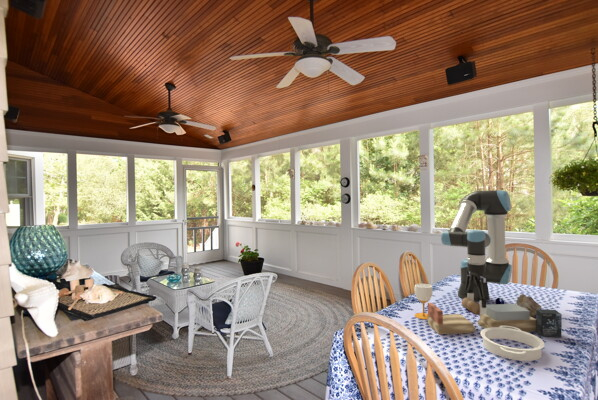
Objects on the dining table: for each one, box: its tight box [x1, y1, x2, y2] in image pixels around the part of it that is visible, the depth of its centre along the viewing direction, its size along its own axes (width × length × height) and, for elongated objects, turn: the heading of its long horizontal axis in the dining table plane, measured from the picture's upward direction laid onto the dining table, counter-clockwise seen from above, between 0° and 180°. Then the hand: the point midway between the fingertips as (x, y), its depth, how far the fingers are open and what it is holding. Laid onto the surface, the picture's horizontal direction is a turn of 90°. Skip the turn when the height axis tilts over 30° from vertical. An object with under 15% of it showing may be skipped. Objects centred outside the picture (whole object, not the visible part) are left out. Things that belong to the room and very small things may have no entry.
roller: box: [461, 297, 480, 316], centre depth 161 cm, size 10×5×5 cm
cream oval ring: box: [480, 326, 546, 362], centre depth 139 cm, size 29×22×5 cm
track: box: [427, 302, 536, 335], centre depth 161 cm, size 12×46×10 cm, turn 92°
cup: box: [414, 283, 434, 321], centre depth 176 cm, size 9×9×16 cm
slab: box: [486, 303, 530, 321], centre depth 161 cm, size 10×16×4 cm, turn 92°
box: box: [535, 308, 563, 338], centre depth 152 cm, size 8×6×11 cm
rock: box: [516, 293, 542, 318], centre depth 176 cm, size 9×12×10 cm
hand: (476, 310), depth 161 cm, fingers closed on roller, 10 cm apart
